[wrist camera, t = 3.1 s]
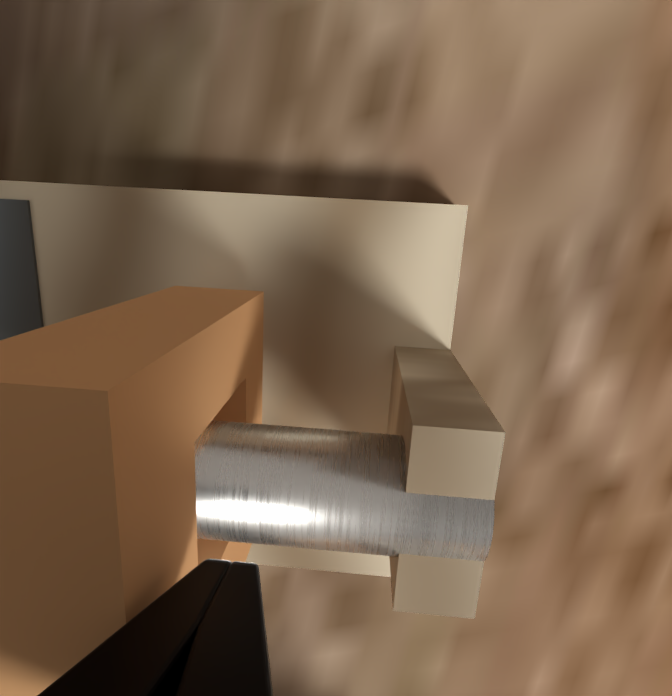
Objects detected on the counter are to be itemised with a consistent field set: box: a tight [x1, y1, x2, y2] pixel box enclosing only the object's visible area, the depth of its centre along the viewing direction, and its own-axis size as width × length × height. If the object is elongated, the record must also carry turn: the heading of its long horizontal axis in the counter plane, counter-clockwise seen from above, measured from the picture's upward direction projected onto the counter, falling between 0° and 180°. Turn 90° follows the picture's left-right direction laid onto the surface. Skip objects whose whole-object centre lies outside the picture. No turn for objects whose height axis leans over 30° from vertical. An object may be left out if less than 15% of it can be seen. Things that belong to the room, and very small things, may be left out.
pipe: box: [194, 420, 494, 561], centre depth 10 cm, size 20×3×3 cm, turn 87°
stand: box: [0, 180, 505, 619], centre depth 12 cm, size 20×12×7 cm, turn 87°
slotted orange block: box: [0, 286, 264, 696], centre depth 9 cm, size 2×7×8 cm, turn 177°
